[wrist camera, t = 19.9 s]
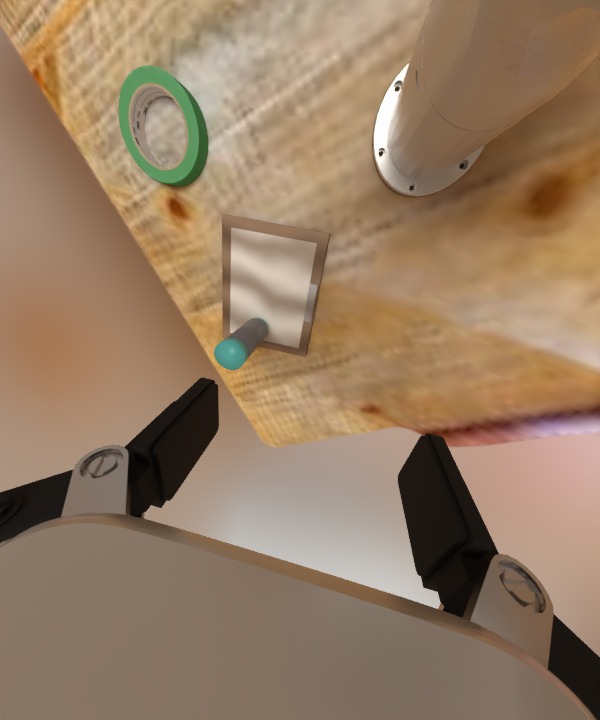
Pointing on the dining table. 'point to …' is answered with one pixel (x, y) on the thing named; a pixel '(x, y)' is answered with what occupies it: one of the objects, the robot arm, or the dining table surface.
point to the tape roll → (132, 111)
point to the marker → (241, 344)
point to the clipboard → (271, 279)
